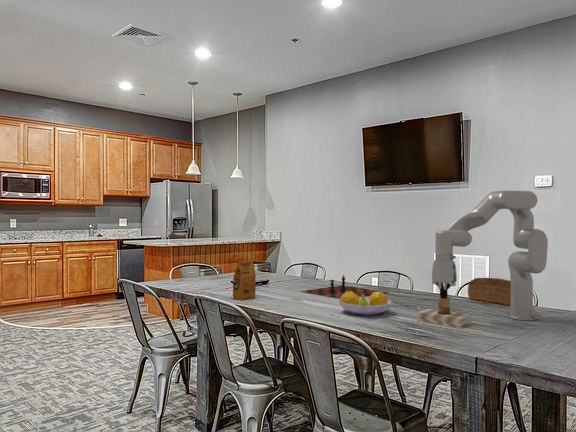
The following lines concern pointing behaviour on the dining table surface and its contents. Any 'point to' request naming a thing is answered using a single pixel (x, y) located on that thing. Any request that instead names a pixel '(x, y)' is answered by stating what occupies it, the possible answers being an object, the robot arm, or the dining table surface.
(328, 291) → the chessboard
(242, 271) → the coffee package
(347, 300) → the fruit bowl
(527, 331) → the dining table surface
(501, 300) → the bread
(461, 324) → the board
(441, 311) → the peg
